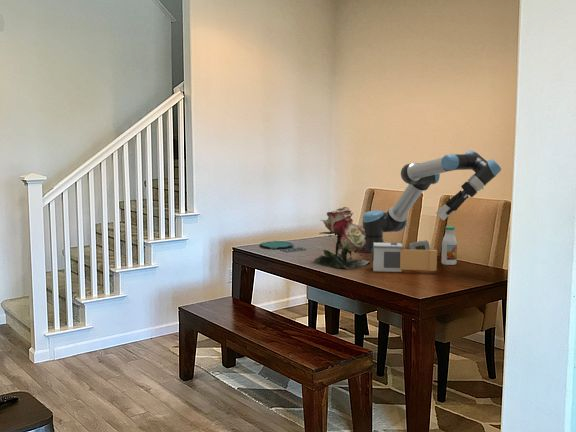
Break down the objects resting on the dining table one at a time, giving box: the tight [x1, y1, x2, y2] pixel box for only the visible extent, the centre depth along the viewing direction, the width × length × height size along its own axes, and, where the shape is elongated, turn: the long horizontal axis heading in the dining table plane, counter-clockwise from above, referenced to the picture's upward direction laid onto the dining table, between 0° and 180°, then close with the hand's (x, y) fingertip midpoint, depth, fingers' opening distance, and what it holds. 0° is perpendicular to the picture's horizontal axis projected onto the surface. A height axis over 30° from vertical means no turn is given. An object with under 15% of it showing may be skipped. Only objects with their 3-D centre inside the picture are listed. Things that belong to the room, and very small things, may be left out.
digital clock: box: [408, 240, 432, 250], centre depth 326 cm, size 16×9×11 cm, turn 119°
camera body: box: [370, 241, 404, 273], centre depth 303 cm, size 15×11×14 cm
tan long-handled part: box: [400, 248, 438, 272], centre depth 296 cm, size 18×3×10 cm, turn 83°
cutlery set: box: [259, 240, 307, 253], centre depth 366 cm, size 20×30×2 cm, turn 35°
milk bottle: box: [440, 225, 458, 266], centre depth 318 cm, size 8×8×20 cm
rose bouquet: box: [313, 206, 370, 270], centre depth 318 cm, size 26×29×30 cm
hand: (439, 216), depth 293 cm, fingers open, 13 cm apart
